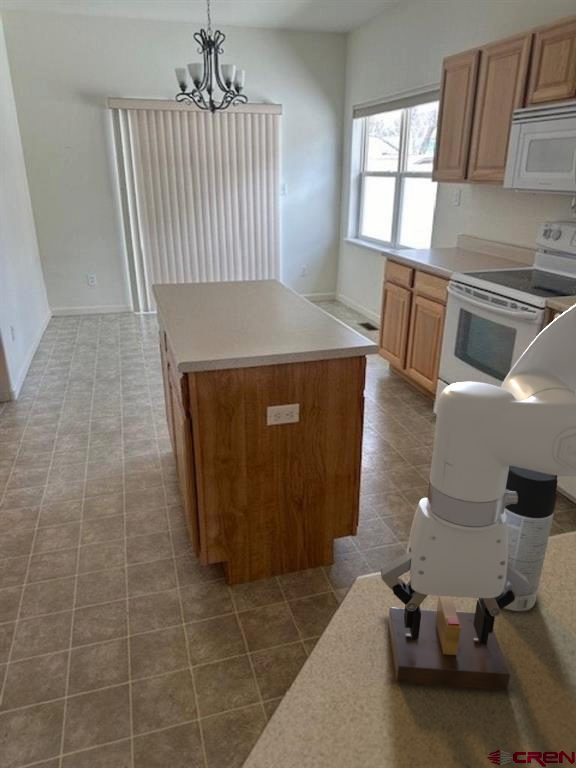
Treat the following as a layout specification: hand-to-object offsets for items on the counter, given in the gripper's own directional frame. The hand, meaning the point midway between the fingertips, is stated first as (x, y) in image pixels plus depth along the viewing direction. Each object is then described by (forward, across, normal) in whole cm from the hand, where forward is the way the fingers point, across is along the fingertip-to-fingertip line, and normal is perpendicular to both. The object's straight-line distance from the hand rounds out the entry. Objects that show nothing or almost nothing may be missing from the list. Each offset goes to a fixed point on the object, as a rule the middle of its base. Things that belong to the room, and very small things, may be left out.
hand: (446, 632), depth 62 cm
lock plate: (+4, 0, 0) cm, 4 cm away
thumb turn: (+1, 0, 0) cm, 1 cm away
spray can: (+4, -11, -11) cm, 16 cm away
